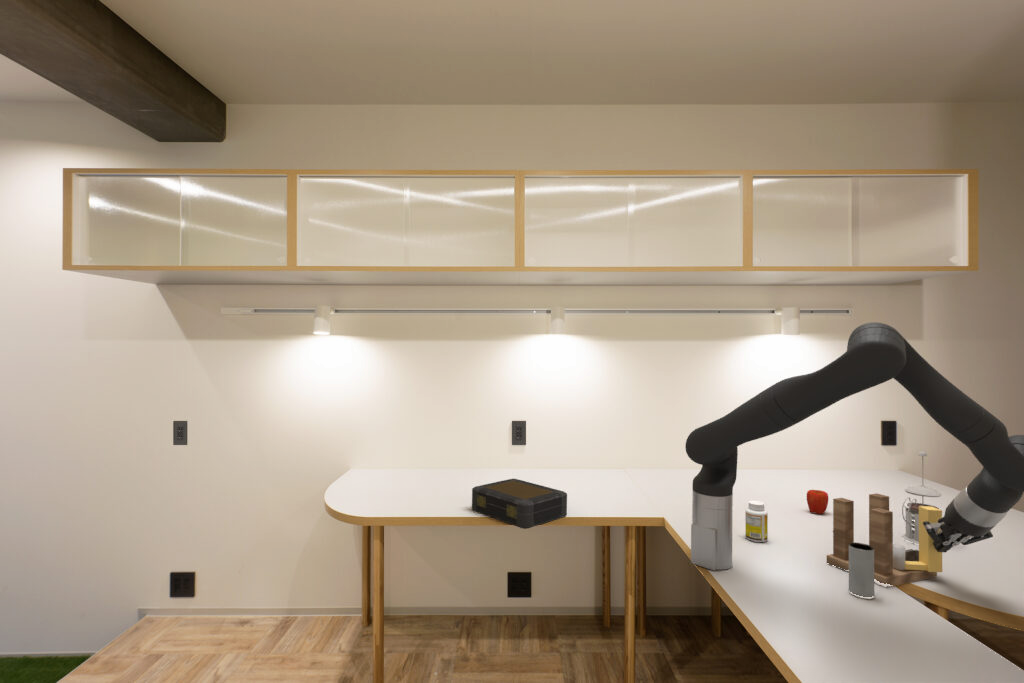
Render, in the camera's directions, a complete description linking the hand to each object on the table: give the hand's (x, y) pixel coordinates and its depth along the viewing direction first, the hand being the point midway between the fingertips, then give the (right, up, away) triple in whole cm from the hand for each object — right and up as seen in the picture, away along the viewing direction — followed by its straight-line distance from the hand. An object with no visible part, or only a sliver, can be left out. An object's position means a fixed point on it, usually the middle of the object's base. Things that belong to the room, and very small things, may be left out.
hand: (939, 548), depth 116 cm
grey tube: (-22, -7, -7) cm, 24 cm away
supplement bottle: (-29, -8, +26) cm, 40 cm away
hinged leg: (-4, -6, +2) cm, 7 cm away
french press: (+17, -9, +26) cm, 33 cm away
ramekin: (+32, -10, +45) cm, 56 cm away
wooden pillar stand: (-9, -8, +7) cm, 13 cm away
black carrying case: (-95, -8, +47) cm, 106 cm away
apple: (+3, -9, +51) cm, 52 cm away
